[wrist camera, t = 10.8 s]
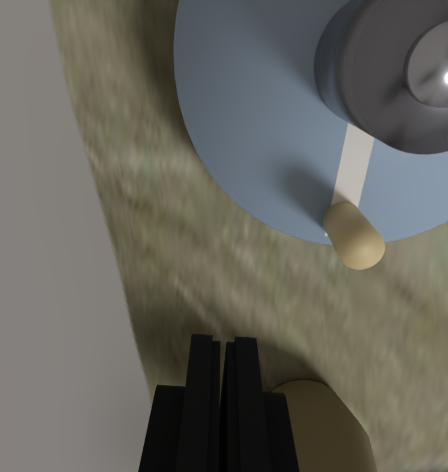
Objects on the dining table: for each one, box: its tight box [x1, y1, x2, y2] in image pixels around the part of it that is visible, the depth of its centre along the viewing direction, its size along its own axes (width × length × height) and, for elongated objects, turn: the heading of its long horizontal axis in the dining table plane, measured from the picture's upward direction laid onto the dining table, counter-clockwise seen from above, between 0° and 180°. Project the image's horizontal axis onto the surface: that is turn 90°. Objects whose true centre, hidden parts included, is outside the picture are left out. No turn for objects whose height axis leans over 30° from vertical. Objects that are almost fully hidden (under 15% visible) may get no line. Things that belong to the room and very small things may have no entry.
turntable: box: [173, 0, 448, 270], centre depth 17 cm, size 18×18×5 cm
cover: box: [314, 0, 448, 155], centre depth 15 cm, size 6×6×6 cm
